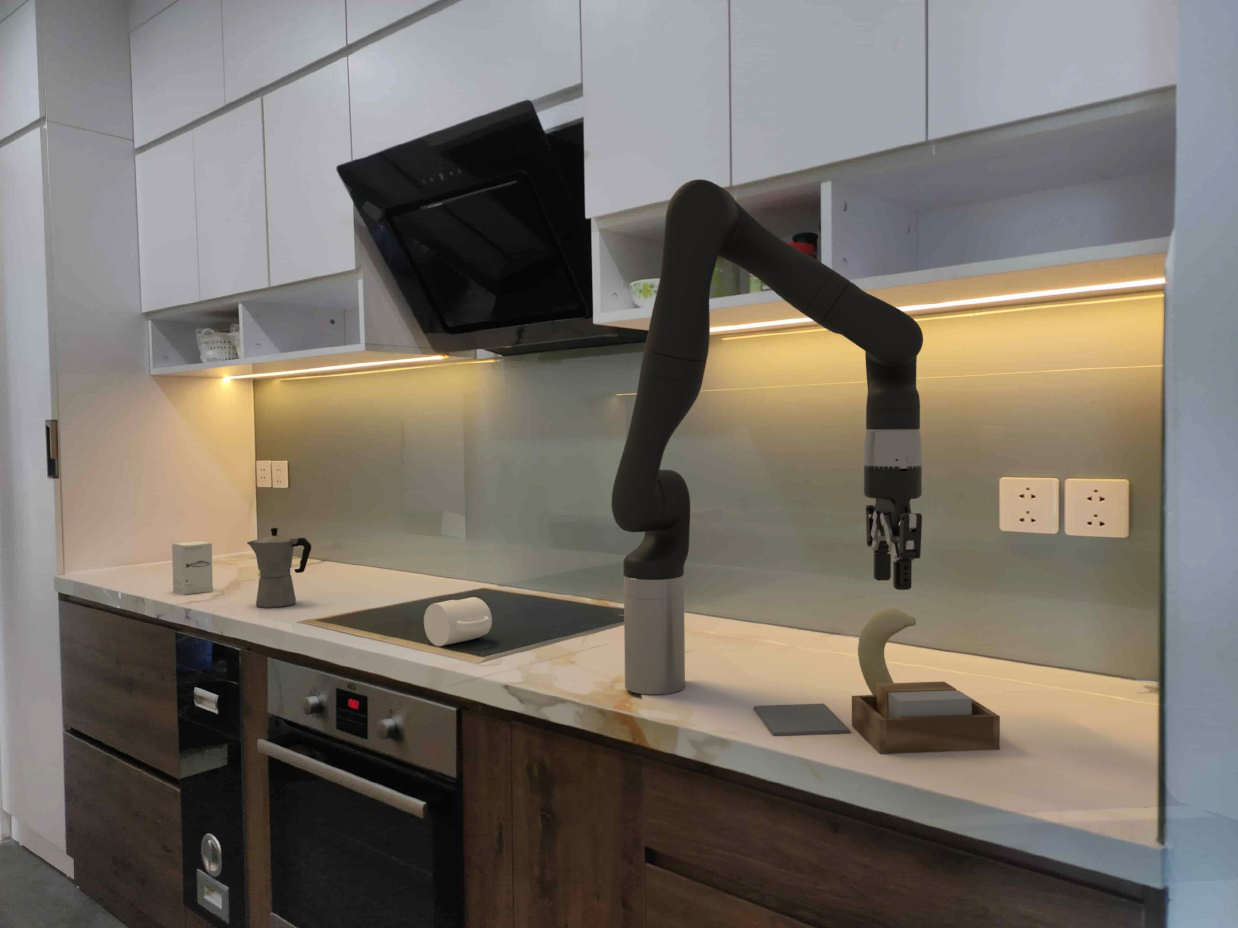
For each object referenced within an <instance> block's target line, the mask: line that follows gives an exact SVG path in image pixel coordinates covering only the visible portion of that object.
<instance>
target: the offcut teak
mask: <svg viewBox="0 0 1238 928" xmlns="http://www.w3.org/2000/svg"><path fill="white" fill-rule="evenodd" d="M952 690H958V689H957V688H955V687H954V686H952V685H951V684H949V683H948V682H946V681H922V682H921V681H919V682H918V681H916V682H915V681H913V682H912V681H911V682H894V683H881V684H877V713H879V714H880V715H881V716H882V717H883V718H889V695H888V693H894V692H923V691H952Z"/></svg>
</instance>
